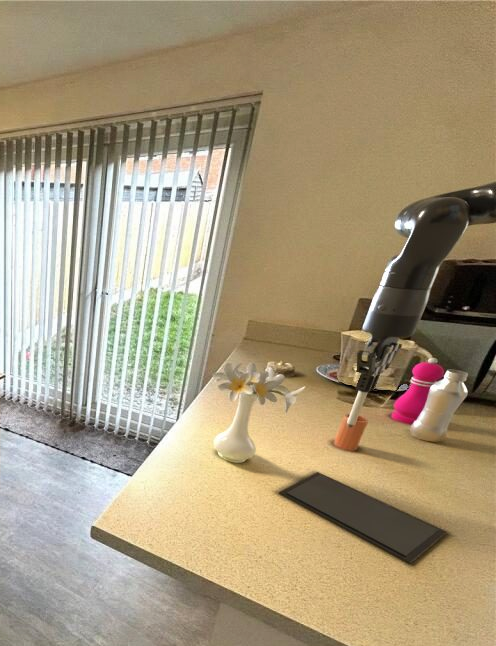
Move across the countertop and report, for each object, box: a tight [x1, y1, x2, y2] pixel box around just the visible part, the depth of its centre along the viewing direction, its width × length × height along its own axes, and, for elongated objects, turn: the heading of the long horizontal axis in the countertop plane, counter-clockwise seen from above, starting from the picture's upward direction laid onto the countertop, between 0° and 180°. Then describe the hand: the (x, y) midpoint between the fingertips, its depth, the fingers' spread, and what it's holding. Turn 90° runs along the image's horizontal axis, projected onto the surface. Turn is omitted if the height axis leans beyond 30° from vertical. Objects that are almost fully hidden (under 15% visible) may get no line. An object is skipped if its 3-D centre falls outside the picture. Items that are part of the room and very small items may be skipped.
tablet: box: [278, 471, 448, 565], centre depth 82 cm, size 22×16×1 cm
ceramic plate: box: [316, 363, 408, 392], centre depth 144 cm, size 26×26×3 cm
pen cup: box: [333, 413, 369, 452], centre depth 103 cm, size 5×5×9 cm
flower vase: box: [211, 362, 307, 464], centre depth 97 cm, size 13×18×25 cm
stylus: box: [347, 368, 369, 428], centre depth 84 cm, size 1×1×14 cm
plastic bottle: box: [409, 368, 469, 443], centre depth 104 cm, size 6×7×20 cm
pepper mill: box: [391, 357, 445, 425], centre depth 114 cm, size 7×7×20 cm
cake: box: [264, 360, 296, 378], centre depth 153 cm, size 10×10×5 cm
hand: (364, 389), depth 83 cm, fingers closed on stylus, 1 cm apart
